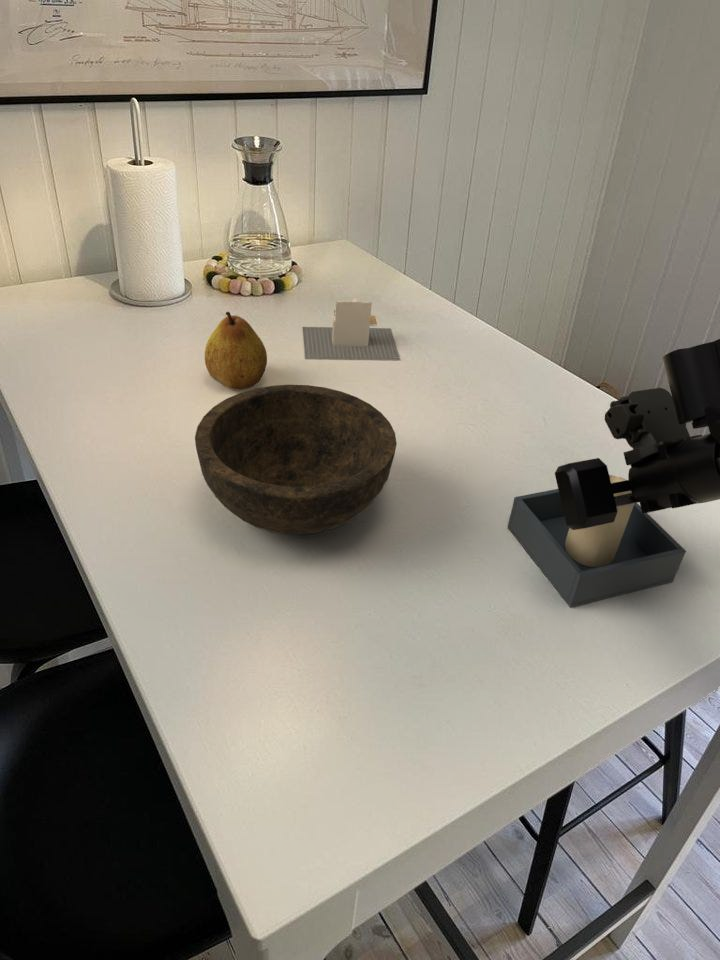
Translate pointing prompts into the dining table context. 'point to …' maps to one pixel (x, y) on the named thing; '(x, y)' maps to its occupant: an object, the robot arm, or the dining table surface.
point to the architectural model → (350, 336)
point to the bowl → (295, 456)
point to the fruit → (235, 354)
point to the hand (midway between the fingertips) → (597, 493)
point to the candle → (599, 537)
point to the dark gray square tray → (635, 566)
